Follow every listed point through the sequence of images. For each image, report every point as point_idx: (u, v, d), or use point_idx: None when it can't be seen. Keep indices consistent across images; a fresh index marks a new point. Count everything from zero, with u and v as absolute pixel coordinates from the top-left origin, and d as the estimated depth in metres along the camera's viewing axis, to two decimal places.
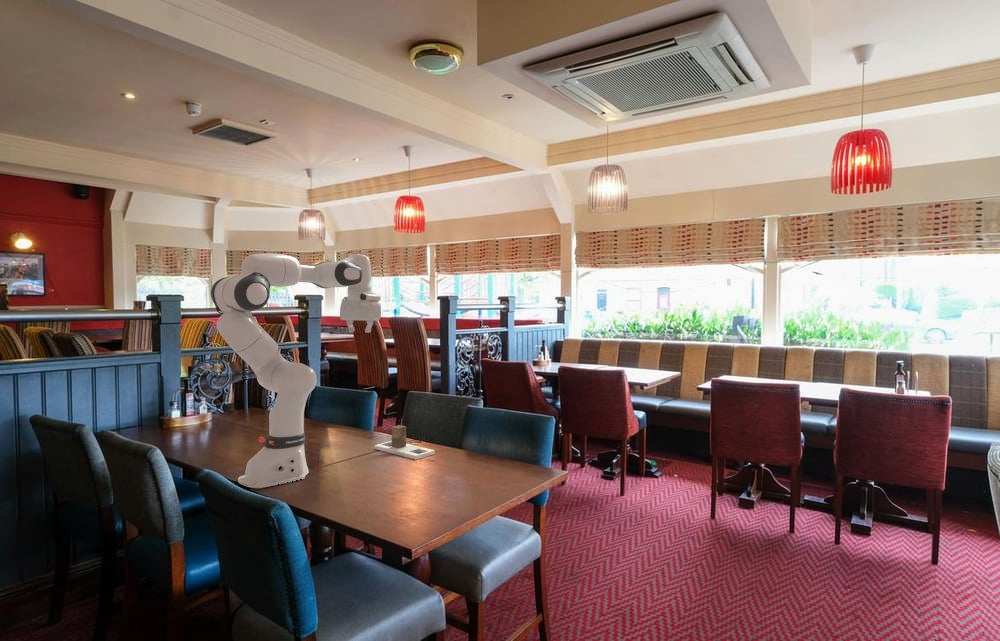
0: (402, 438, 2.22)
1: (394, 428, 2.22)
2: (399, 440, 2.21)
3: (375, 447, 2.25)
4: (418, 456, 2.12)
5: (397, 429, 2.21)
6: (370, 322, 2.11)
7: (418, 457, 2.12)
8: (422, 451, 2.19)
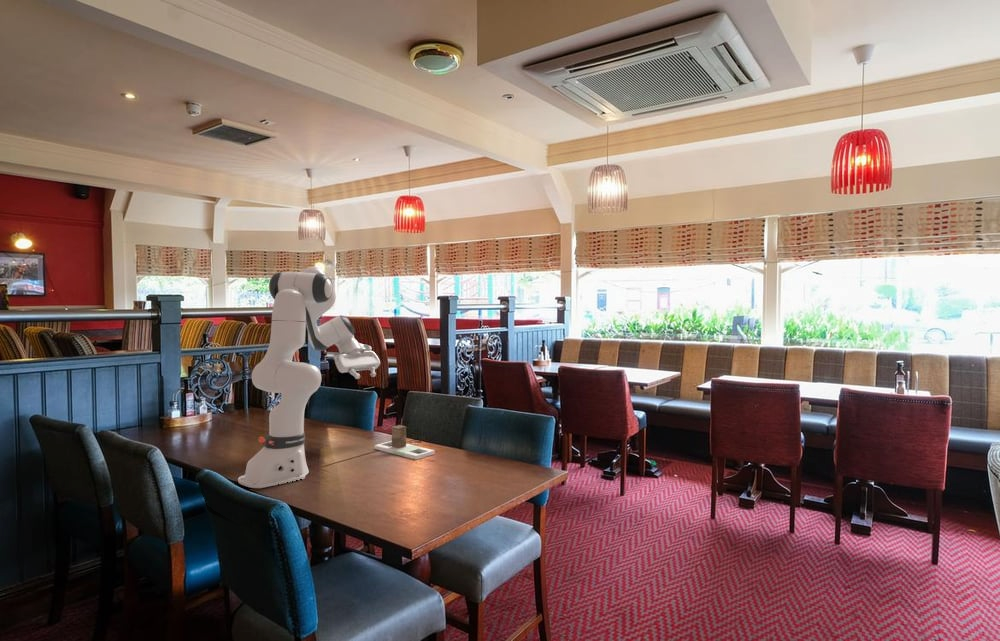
0: (402, 438, 2.22)
1: (394, 428, 2.22)
2: (399, 440, 2.21)
3: (375, 447, 2.25)
4: (418, 456, 2.12)
5: (397, 429, 2.21)
6: None
7: (418, 457, 2.12)
8: (422, 451, 2.19)
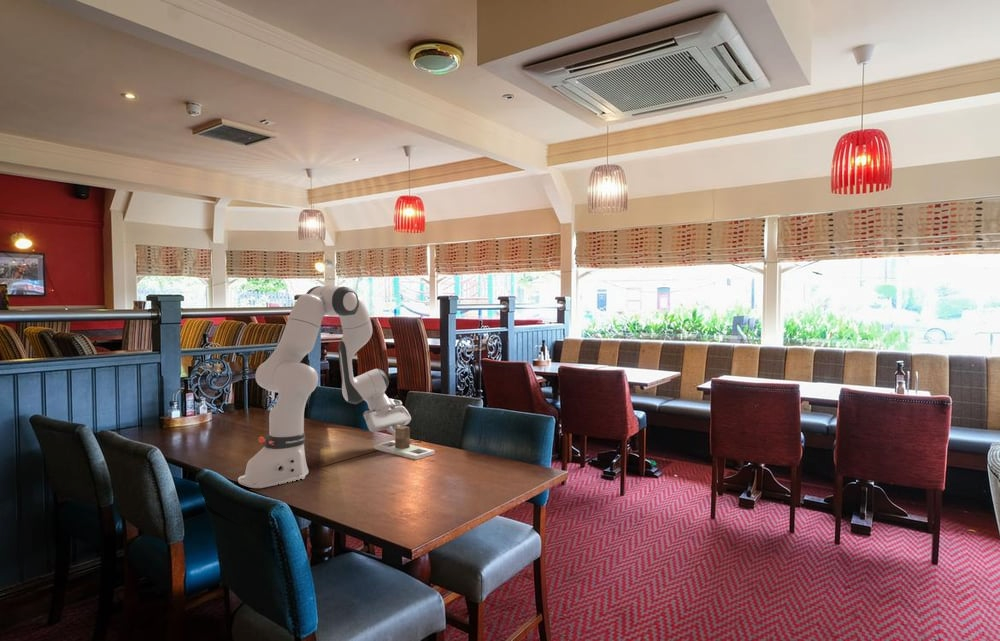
0: (405, 439, 2.21)
1: (398, 429, 2.21)
2: (403, 441, 2.20)
3: (375, 447, 2.25)
4: (418, 456, 2.12)
5: (401, 430, 2.20)
6: None
7: (418, 457, 2.12)
8: (422, 451, 2.19)
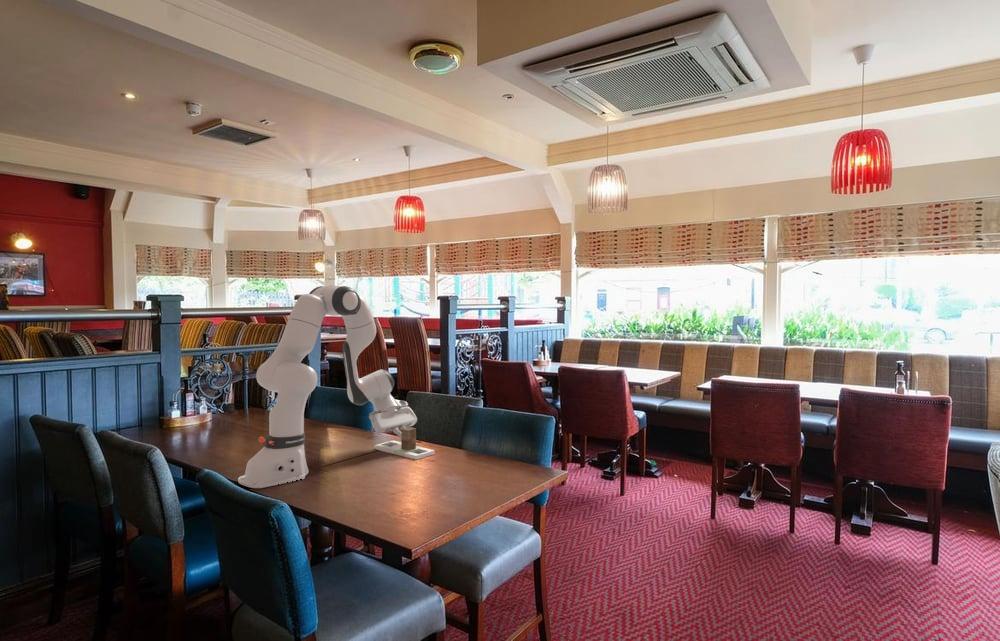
0: (412, 440, 2.19)
1: (404, 430, 2.19)
2: (409, 442, 2.18)
3: (375, 447, 2.25)
4: (418, 456, 2.12)
5: (407, 431, 2.18)
6: None
7: (418, 457, 2.12)
8: (422, 451, 2.19)
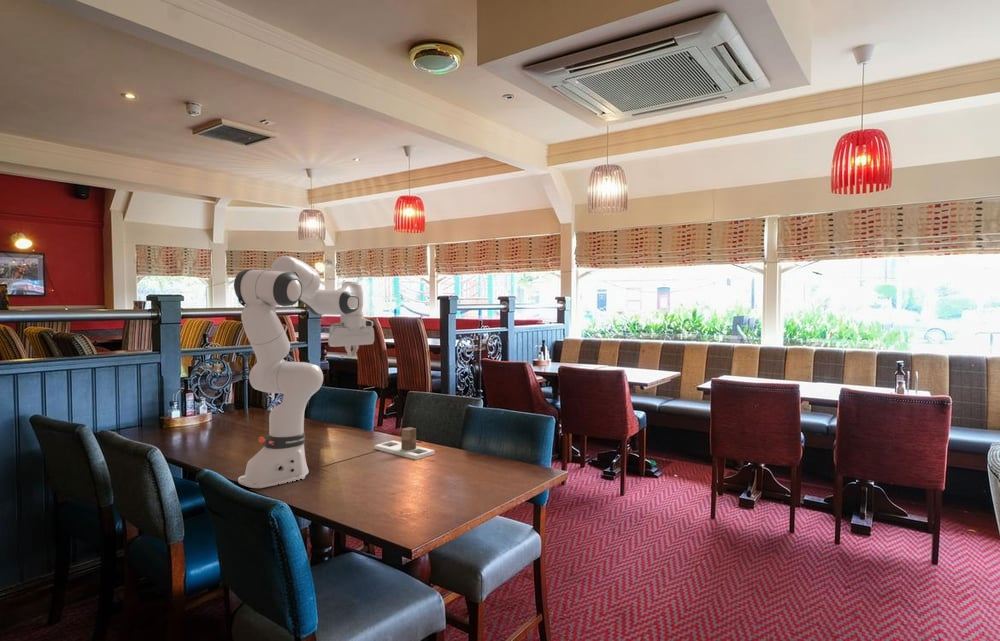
0: (412, 440, 2.19)
1: (404, 430, 2.19)
2: (409, 442, 2.18)
3: (375, 447, 2.25)
4: (418, 456, 2.12)
5: (407, 431, 2.18)
6: None
7: (418, 457, 2.12)
8: (422, 451, 2.19)
